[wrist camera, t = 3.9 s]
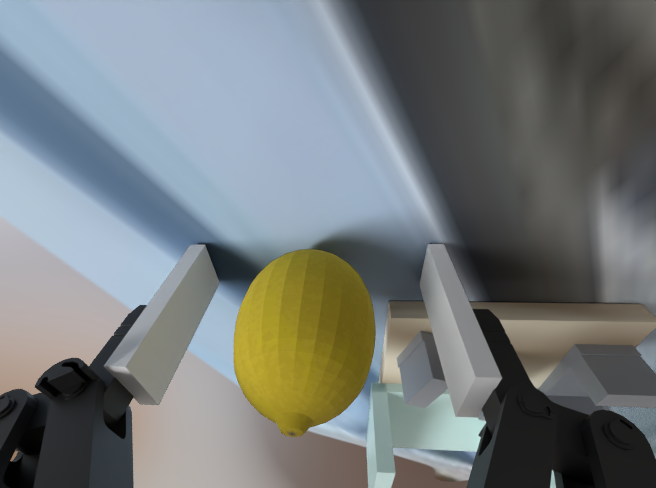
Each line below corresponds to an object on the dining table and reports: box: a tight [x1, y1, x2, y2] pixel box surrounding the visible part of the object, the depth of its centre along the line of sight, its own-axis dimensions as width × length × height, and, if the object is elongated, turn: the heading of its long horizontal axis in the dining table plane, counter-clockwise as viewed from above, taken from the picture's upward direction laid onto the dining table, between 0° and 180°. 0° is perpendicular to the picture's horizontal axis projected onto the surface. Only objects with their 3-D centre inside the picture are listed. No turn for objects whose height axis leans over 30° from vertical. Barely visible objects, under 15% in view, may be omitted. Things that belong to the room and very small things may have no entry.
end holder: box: [366, 383, 556, 488], centre depth 20 cm, size 10×10×5 cm
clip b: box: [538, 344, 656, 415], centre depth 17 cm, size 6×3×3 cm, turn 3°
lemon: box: [234, 249, 375, 437], centre depth 12 cm, size 6×6×8 cm
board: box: [379, 301, 656, 389], centre depth 21 cm, size 17×14×1 cm
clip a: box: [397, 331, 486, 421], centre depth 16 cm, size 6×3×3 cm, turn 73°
